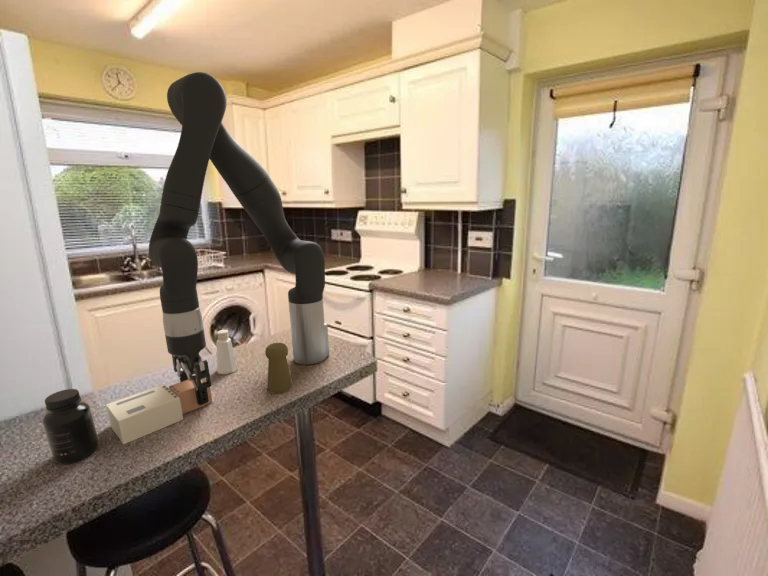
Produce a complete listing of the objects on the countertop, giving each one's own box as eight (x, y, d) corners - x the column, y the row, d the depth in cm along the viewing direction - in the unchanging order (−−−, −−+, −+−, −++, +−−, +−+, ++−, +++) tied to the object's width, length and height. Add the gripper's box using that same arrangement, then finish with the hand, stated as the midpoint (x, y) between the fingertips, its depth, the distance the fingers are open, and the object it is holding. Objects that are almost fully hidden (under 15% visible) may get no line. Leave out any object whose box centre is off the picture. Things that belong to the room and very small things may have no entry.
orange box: (202, 394, 93) (199, 375, 92) (212, 402, 90) (209, 381, 88) (172, 406, 88) (168, 386, 87) (181, 414, 85) (177, 393, 83)
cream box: (167, 404, 89) (163, 384, 88) (183, 419, 83) (179, 397, 82) (110, 426, 81) (105, 404, 80) (123, 444, 75) (118, 420, 74)
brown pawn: (286, 394, 92) (282, 350, 90) (262, 392, 94) (257, 348, 91) (296, 382, 98) (293, 340, 95) (274, 380, 99) (270, 339, 97)
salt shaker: (222, 376, 102) (217, 336, 99) (212, 370, 105) (207, 331, 103) (242, 369, 106) (237, 330, 103) (231, 363, 109) (226, 326, 107)
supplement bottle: (70, 442, 76) (56, 386, 73) (107, 440, 77) (94, 384, 74) (43, 467, 70) (26, 406, 67) (84, 464, 70) (69, 403, 67)
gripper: (216, 331, 83) (225, 401, 87) (188, 318, 92) (198, 381, 96) (179, 342, 78) (190, 415, 82) (153, 326, 87) (165, 393, 91)
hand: (195, 396), depth 89 cm, fingers open, 8 cm apart
